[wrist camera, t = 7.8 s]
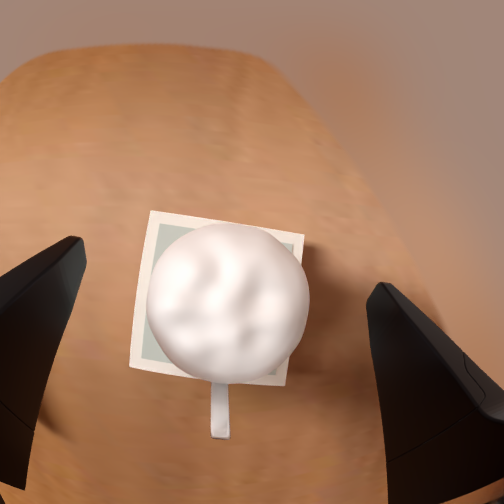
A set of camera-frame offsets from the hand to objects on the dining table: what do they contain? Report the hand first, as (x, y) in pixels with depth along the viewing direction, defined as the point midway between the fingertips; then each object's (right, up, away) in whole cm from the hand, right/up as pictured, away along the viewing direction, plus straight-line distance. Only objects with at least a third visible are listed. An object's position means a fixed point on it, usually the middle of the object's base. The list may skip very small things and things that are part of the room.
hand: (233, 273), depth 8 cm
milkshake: (-1, -2, +8) cm, 8 cm away
